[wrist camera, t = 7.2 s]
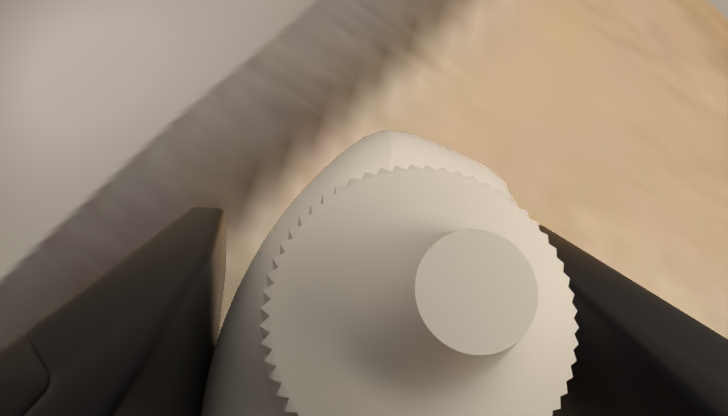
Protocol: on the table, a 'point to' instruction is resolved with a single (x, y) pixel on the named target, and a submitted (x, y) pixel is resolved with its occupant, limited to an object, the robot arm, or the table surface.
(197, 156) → the table surface
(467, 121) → the table surface
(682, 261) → the table surface
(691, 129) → the table surface
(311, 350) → the eye dropper bottle
